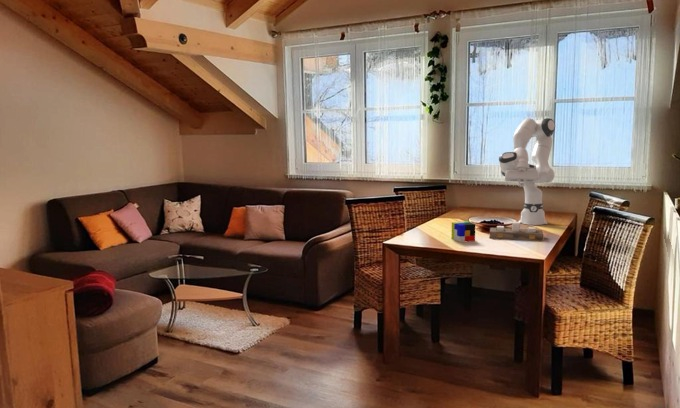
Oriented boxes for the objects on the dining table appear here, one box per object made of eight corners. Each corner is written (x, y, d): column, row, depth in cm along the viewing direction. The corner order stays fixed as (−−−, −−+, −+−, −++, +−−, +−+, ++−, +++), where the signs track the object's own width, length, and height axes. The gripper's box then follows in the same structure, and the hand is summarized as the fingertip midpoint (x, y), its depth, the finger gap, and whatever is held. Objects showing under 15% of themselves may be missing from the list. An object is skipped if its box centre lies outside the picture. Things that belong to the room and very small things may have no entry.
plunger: (527, 236, 310) (528, 227, 309) (534, 237, 309) (535, 227, 308) (528, 238, 306) (528, 228, 305) (535, 238, 305) (535, 228, 304)
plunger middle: (512, 231, 312) (512, 221, 311) (519, 231, 311) (519, 222, 310) (512, 232, 308) (512, 223, 308) (519, 233, 307) (519, 223, 306)
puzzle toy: (459, 242, 300) (459, 225, 298) (451, 238, 309) (451, 222, 308) (474, 240, 303) (475, 224, 301) (466, 237, 312) (466, 221, 311)
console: (490, 233, 320) (490, 227, 320) (541, 236, 311) (541, 229, 311) (489, 238, 309) (489, 231, 308) (543, 240, 300) (543, 234, 299)
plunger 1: (496, 235, 315) (497, 225, 314) (503, 235, 314) (503, 226, 313) (496, 236, 312) (496, 227, 311) (503, 237, 310) (503, 227, 310)
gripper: (504, 165, 327) (504, 182, 319) (538, 165, 322) (539, 183, 314) (504, 172, 332) (504, 188, 324) (537, 172, 327) (538, 189, 319)
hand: (521, 186), depth 319 cm, fingers closed
